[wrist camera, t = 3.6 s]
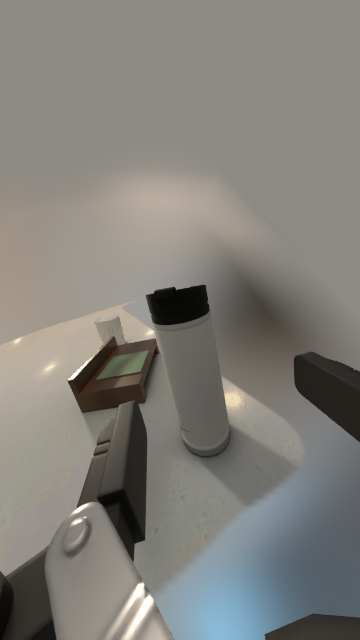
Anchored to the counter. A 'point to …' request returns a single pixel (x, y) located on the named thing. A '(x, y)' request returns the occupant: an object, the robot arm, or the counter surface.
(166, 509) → the counter surface
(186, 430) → the travel mug
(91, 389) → the wooden coaster base
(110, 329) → the white cup
